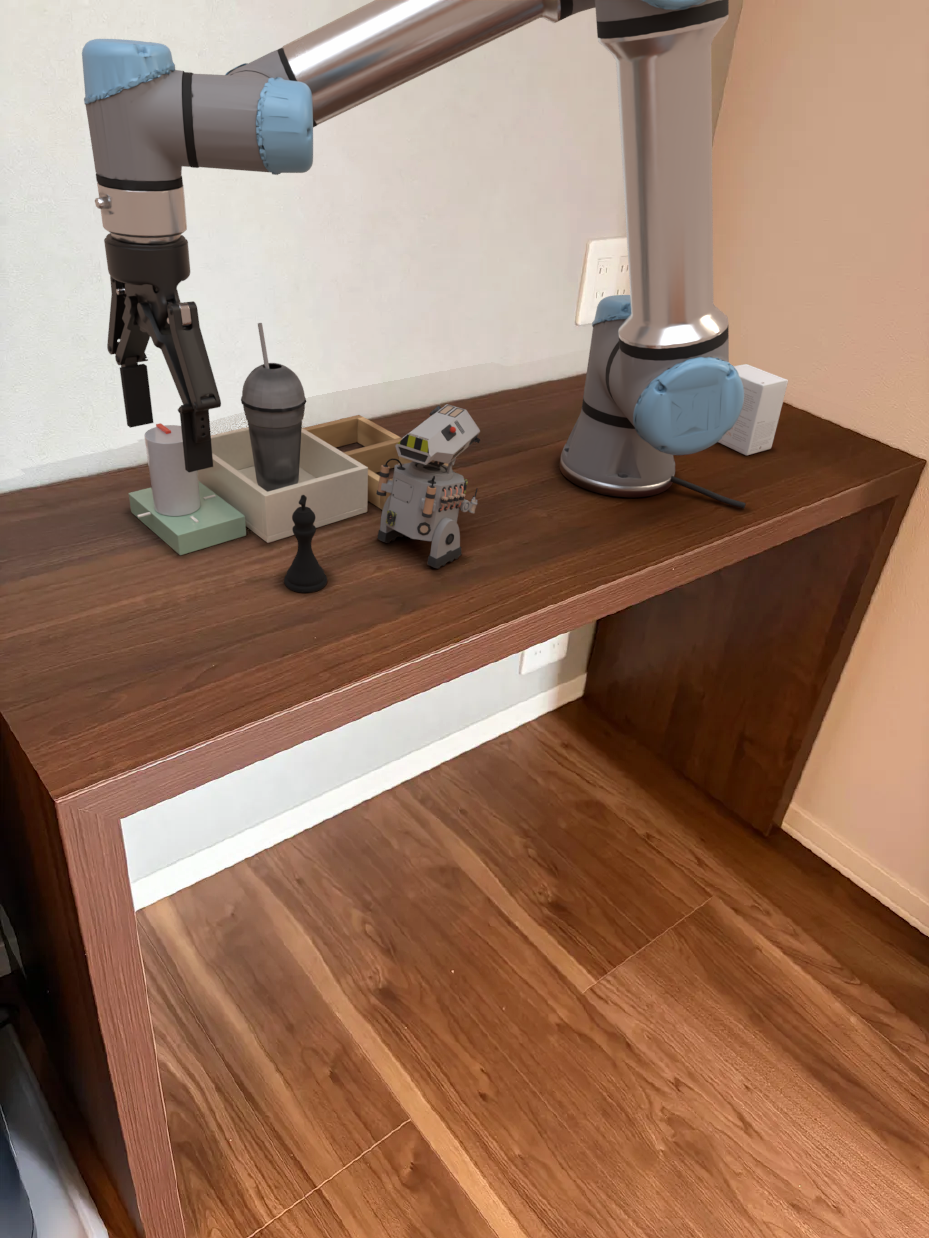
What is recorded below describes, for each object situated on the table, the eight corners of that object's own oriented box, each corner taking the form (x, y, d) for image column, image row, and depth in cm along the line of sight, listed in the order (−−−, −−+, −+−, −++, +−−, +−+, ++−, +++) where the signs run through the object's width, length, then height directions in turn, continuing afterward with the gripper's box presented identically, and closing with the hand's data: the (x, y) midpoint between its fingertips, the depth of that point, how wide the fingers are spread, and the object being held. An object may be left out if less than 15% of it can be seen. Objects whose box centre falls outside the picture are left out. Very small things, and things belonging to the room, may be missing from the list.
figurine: (494, 542, 105) (506, 417, 97) (425, 576, 98) (432, 445, 89) (435, 514, 110) (442, 393, 102) (366, 545, 102) (367, 417, 94)
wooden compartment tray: (450, 490, 116) (451, 465, 114) (384, 511, 110) (385, 485, 108) (358, 438, 127) (359, 414, 125) (295, 454, 121) (294, 429, 119)
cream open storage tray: (367, 512, 109) (368, 467, 106) (267, 543, 101) (264, 496, 98) (287, 460, 120) (286, 418, 117) (191, 485, 112) (187, 440, 109)
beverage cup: (296, 510, 107) (290, 338, 96) (237, 500, 108) (224, 329, 97) (317, 484, 113) (313, 320, 102) (261, 475, 114) (251, 311, 103)
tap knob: (209, 509, 102) (201, 434, 97) (166, 520, 99) (157, 444, 94) (187, 492, 105) (179, 418, 100) (146, 503, 102) (135, 428, 97)
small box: (771, 450, 134) (790, 380, 128) (745, 457, 131) (764, 385, 126) (730, 430, 140) (746, 362, 134) (704, 436, 137) (720, 367, 131)
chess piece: (278, 589, 94) (273, 501, 88) (292, 568, 97) (288, 482, 92) (319, 596, 93) (318, 507, 88) (332, 574, 97) (331, 488, 91)
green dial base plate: (246, 535, 102) (245, 514, 101) (166, 560, 97) (163, 538, 95) (195, 495, 110) (193, 475, 108) (117, 516, 104) (114, 494, 103)
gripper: (54, 210, 91) (86, 413, 103) (169, 268, 76) (192, 498, 88) (126, 206, 96) (149, 402, 107) (249, 260, 81) (260, 480, 92)
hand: (168, 445), depth 98 cm, fingers open, 13 cm apart
